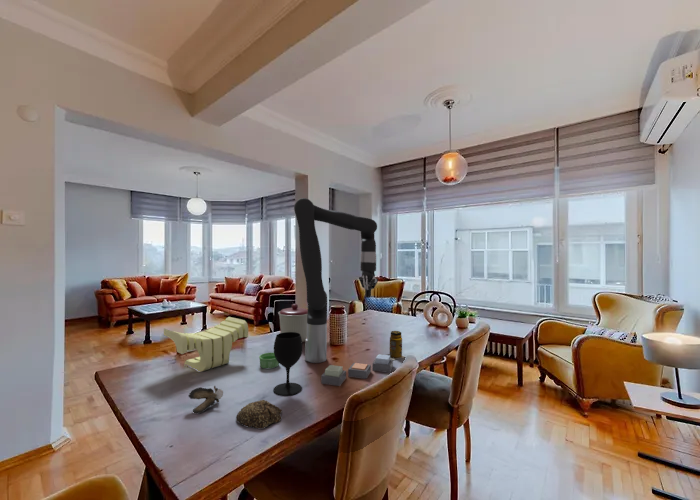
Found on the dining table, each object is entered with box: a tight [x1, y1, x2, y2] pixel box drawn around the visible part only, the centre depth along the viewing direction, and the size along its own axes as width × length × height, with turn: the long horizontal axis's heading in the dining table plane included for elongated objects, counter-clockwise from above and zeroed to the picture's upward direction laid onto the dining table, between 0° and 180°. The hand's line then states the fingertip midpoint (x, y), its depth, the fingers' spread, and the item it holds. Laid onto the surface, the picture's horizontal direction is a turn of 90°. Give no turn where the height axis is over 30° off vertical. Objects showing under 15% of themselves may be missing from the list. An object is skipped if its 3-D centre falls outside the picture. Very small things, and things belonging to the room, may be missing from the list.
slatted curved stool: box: [163, 316, 249, 373], centre depth 137 cm, size 30×16×18 cm, turn 144°
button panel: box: [320, 358, 394, 387], centre depth 129 cm, size 11×36×3 cm, turn 123°
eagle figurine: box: [188, 385, 224, 414], centre depth 101 cm, size 8×7×9 cm
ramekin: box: [258, 352, 280, 369], centre depth 137 cm, size 9×9×4 cm
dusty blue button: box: [375, 354, 390, 365], centre depth 136 cm, size 5×5×3 cm
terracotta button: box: [352, 362, 369, 370], centre depth 129 cm, size 5×5×3 cm
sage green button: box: [324, 364, 344, 377], centre depth 122 cm, size 5×5×3 cm
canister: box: [277, 303, 308, 343], centre depth 174 cm, size 18×18×21 cm
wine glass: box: [272, 332, 304, 397], centre depth 114 cm, size 10×10×20 cm
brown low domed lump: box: [235, 399, 283, 429], centre depth 95 cm, size 13×12×5 cm
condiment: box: [386, 330, 405, 361], centre depth 151 cm, size 7×8×12 cm
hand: (368, 297), depth 148 cm, fingers closed
